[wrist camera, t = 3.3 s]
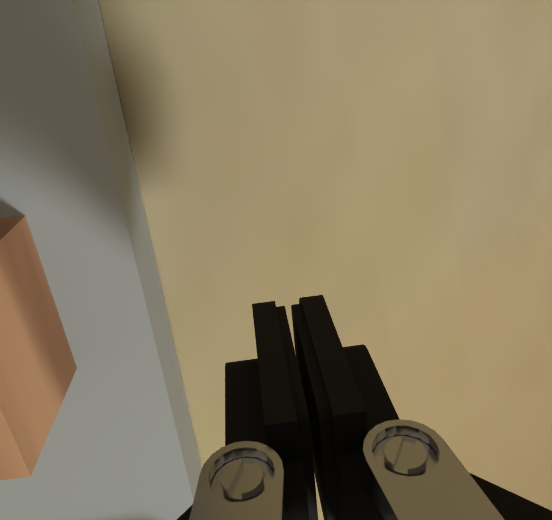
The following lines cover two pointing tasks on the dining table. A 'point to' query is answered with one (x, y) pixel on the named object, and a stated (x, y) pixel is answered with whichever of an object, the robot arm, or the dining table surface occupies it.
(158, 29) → the dining table surface
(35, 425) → the block
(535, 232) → the dining table surface
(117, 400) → the box
